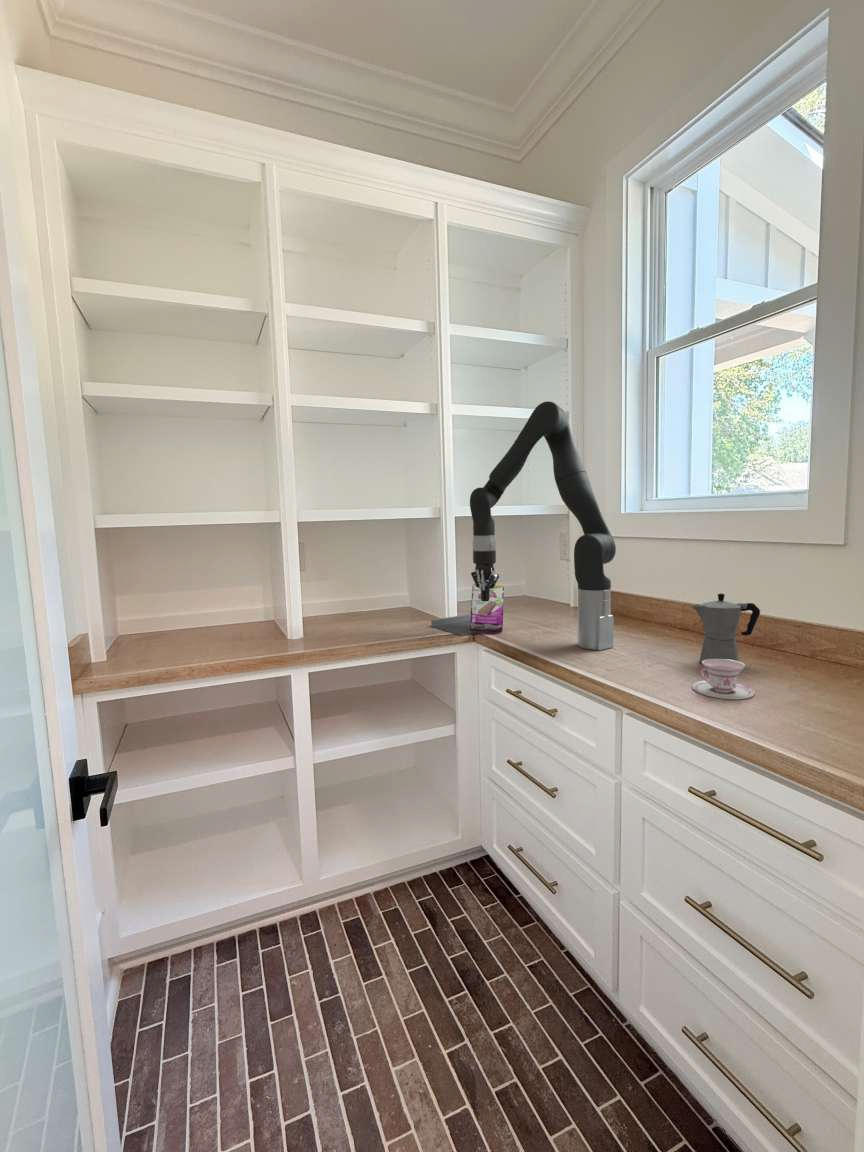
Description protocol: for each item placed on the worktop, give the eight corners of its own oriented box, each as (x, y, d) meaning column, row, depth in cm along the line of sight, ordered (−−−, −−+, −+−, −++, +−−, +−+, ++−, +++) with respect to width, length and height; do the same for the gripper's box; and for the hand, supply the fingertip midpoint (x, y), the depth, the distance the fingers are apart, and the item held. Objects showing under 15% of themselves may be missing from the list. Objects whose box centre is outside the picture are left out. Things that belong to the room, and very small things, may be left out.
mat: (499, 629, 184) (499, 622, 184) (461, 635, 176) (461, 628, 176) (467, 620, 201) (467, 614, 200) (431, 626, 192) (431, 619, 192)
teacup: (732, 681, 121) (733, 655, 121) (767, 699, 109) (768, 670, 109) (681, 683, 121) (681, 657, 120) (711, 702, 109) (711, 672, 108)
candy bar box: (469, 623, 176) (472, 583, 186) (469, 630, 180) (471, 591, 190) (503, 624, 175) (504, 584, 185) (502, 632, 179) (503, 593, 189)
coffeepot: (694, 667, 133) (696, 596, 131) (687, 657, 142) (688, 590, 140) (764, 669, 129) (767, 596, 127) (752, 659, 138) (754, 591, 136)
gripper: (506, 549, 170) (506, 602, 172) (481, 547, 182) (482, 597, 184) (487, 550, 167) (488, 605, 169) (463, 549, 178) (464, 599, 180)
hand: (485, 601), depth 176 cm, fingers closed
